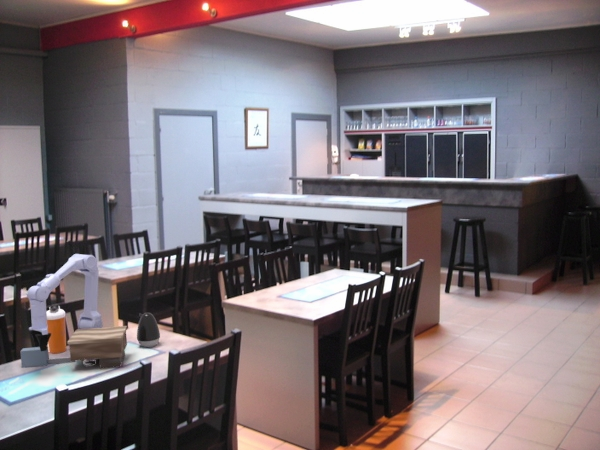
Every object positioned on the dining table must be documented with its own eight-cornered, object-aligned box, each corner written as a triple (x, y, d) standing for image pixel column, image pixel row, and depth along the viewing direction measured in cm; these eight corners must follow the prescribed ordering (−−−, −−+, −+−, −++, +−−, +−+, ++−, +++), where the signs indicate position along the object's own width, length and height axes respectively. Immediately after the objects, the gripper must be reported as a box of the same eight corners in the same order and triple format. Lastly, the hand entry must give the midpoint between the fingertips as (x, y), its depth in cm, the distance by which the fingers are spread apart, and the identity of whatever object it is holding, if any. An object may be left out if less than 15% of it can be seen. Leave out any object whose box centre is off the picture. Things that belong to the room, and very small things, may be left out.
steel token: (84, 362, 263) (84, 359, 263) (96, 361, 263) (96, 358, 263) (82, 367, 258) (81, 363, 258) (94, 366, 259) (94, 362, 258)
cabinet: (78, 358, 268) (76, 329, 267) (128, 354, 271) (126, 325, 269) (70, 372, 251) (67, 341, 250) (123, 367, 254) (121, 337, 253)
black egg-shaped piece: (150, 340, 289) (147, 308, 287) (165, 344, 283) (163, 311, 281) (132, 346, 281) (130, 313, 279) (147, 350, 275) (145, 317, 273)
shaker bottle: (48, 355, 273) (44, 311, 270) (46, 350, 281) (42, 306, 278) (69, 351, 277) (66, 308, 274) (67, 346, 285) (63, 303, 282)
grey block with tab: (24, 364, 263) (23, 348, 262) (76, 360, 266) (75, 344, 265) (21, 367, 259) (20, 351, 258) (74, 363, 262) (72, 347, 261)
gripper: (23, 314, 254) (25, 346, 255) (33, 320, 243) (35, 354, 244) (41, 311, 258) (43, 343, 260) (52, 317, 247) (54, 351, 248)
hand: (40, 348), depth 252 cm, fingers open, 7 cm apart
